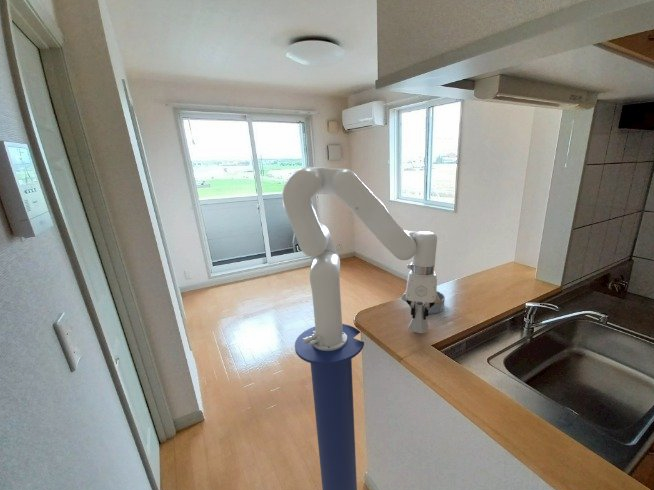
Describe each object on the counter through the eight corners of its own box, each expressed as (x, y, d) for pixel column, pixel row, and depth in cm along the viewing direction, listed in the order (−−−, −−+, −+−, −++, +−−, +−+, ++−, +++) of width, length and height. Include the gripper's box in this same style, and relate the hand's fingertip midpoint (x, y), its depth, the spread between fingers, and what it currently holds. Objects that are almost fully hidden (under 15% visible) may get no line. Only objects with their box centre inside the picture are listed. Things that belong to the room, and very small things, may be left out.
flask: (404, 329, 111) (406, 304, 108) (413, 321, 117) (415, 297, 114) (423, 335, 108) (425, 310, 104) (431, 327, 113) (434, 302, 110)
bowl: (427, 317, 124) (428, 306, 122) (405, 305, 134) (405, 294, 132) (450, 308, 131) (451, 297, 129) (427, 297, 141) (428, 287, 140)
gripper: (397, 270, 102) (395, 320, 109) (448, 274, 100) (443, 324, 106) (399, 263, 109) (397, 310, 116) (447, 266, 107) (442, 314, 113)
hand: (419, 316), depth 111 cm, fingers closed on flask, 3 cm apart
